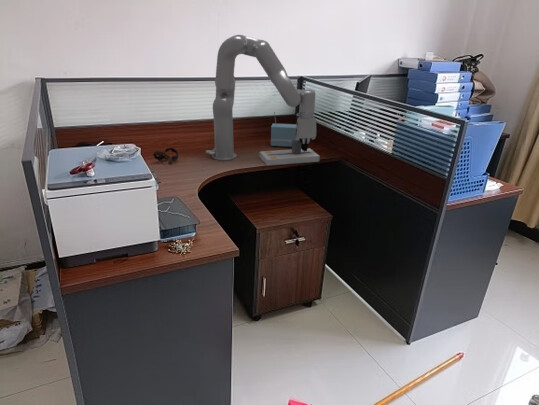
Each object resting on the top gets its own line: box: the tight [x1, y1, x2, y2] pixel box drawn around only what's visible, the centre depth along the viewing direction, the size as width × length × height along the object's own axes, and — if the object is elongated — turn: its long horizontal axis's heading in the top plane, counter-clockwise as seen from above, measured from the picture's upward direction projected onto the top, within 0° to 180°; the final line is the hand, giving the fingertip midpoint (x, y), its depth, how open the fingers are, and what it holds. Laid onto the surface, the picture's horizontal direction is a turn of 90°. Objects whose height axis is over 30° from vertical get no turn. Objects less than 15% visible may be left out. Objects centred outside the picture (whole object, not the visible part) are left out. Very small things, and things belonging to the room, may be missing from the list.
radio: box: [270, 111, 296, 148], centre depth 222 cm, size 16×9×20 cm, turn 84°
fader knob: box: [291, 140, 302, 154], centre depth 201 cm, size 3×5×6 cm, turn 16°
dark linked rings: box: [152, 146, 179, 165], centre depth 193 cm, size 12×10×8 cm
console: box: [259, 147, 320, 166], centre depth 202 cm, size 28×14×3 cm, turn 106°
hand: (304, 150), depth 203 cm, fingers closed
